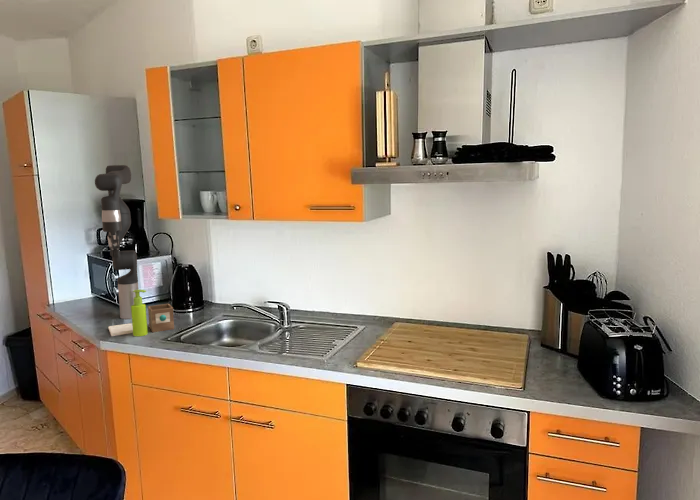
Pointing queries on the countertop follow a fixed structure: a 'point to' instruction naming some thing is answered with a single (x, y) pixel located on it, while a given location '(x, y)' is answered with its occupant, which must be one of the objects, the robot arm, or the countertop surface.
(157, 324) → the box
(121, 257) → the robot arm
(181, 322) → the countertop surface
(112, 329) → the dish
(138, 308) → the soap dispenser
